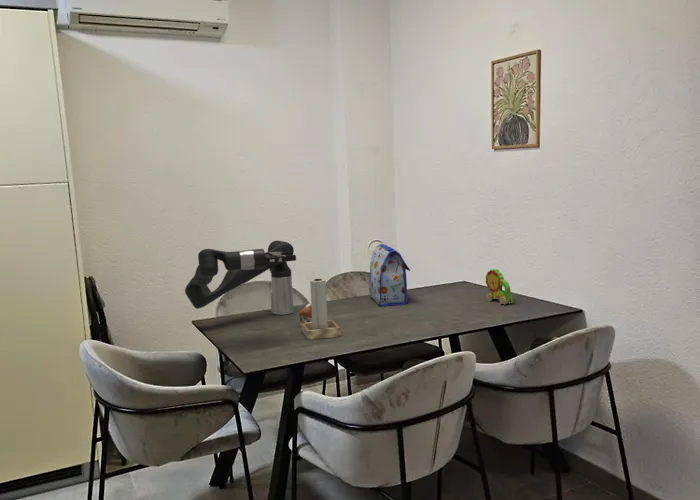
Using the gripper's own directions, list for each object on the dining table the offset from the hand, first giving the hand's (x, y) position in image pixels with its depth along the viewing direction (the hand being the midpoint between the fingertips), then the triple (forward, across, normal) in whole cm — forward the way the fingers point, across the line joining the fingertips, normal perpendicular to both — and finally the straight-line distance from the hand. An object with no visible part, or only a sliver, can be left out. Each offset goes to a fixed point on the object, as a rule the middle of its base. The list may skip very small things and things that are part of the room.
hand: (293, 256), depth 241 cm
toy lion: (+98, -20, -32) cm, 105 cm away
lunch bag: (+52, -44, -32) cm, 75 cm away
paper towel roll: (+8, +1, -32) cm, 33 cm away
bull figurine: (+7, -18, -32) cm, 38 cm away
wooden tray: (+9, 0, -32) cm, 33 cm away
